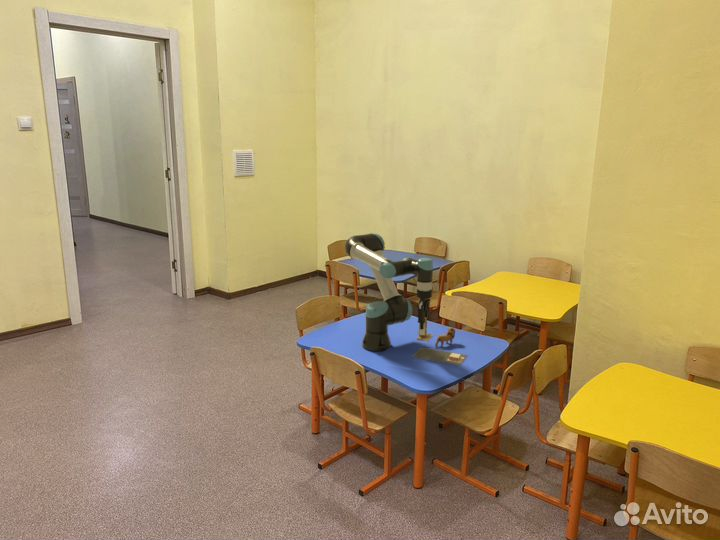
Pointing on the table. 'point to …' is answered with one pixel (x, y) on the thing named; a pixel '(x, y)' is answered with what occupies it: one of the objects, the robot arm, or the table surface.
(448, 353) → the taupe mat
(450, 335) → the lion figurine
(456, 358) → the cream square tile
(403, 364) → the table surface
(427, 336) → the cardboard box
